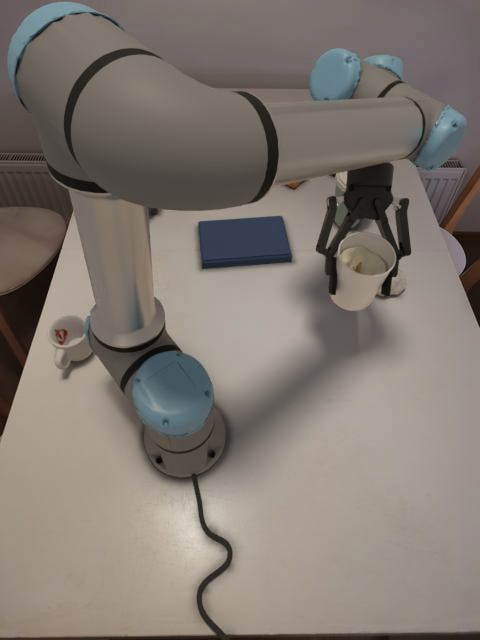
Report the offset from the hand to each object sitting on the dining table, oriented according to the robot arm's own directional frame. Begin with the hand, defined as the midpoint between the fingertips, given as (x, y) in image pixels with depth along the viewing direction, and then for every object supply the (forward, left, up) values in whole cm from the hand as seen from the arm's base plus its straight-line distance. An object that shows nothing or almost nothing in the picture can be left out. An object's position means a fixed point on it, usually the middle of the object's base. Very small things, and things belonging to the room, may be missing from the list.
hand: (358, 294), depth 78 cm
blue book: (+32, +17, -19) cm, 40 cm away
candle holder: (+3, 0, -4) cm, 5 cm away
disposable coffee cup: (+38, -11, -19) cm, 44 cm away
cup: (+4, +56, -19) cm, 59 cm away
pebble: (+15, -15, -19) cm, 28 cm away
